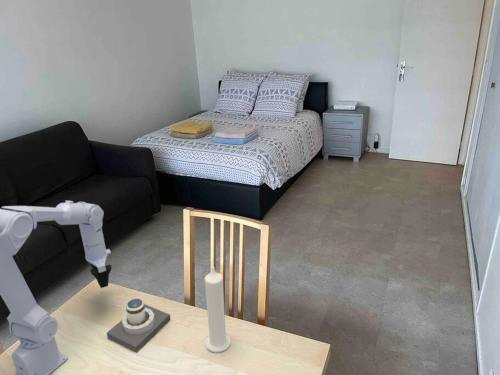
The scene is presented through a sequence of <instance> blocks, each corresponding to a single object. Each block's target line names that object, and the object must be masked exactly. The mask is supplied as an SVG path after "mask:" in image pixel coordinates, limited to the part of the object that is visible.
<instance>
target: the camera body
mask: <svg viewBox="0 0 500 375" xmlns="http://www.w3.org/2000/svg"><path fill="white" fill-rule="evenodd" d="M144 305H145V317H146V322H145V323H144V324H142V325H139V326H132V325H129V323H128V316H127V313H125V314H124V315H123V318H122V319H121V320H120V321H119V322H118V323H116V324H115V325H114V326H113V327H111V329H109V330H108V331H107V332H106V336H107V339H108V340H110V341H113V342H114V343H117V344H119V345H120V346H123V347H125V348H126V349H128V350H130V351H133V352H135V353H138V352H139V351H140V350H142V348H143V347H145V345H147V343H148V342H150V341H151V339H153V338H154V336H156V334H158V333H159V332H160V331H161V330H162V329H163V328H164V327H165V326H166V324H168V323H169V322H170V321H171V314H170V313H168V312H165V311H163V310H160V309H158V308H155V307H153V306H150V305H148V304H145V303H144Z"/></svg>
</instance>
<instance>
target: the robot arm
mask: <svg viewBox="0 0 500 375" xmlns="http://www.w3.org/2000/svg"><path fill="white" fill-rule="evenodd" d="M104 213H105V212H104V210H103V209H102V207H101V206H100V205H98V204H94V203H88V202H86V201H78V202H74V201H73V200H65V202H60V203H59V204H57V205H56V206H55V207H50V206H36V205H35V206H32V205H8V206H7V205H5V206H4V205H3V206H1V208H0V296H1V299H2V300H3V301H4V304H5V305H6V307H7V308H8V310H9V312H10V313H9V315H8V316H7V318H6V320H7V321H8V325H9V326H8V328H9V333H10V335H12V336H13V337H17V339H18V341H19V342H20V343H19V345H18V346H17V348H16V349H15V350H14V351H12V353H11V358H12V362H13V364H14V367H15V370H16V371H15V374H16V375H51V373H53V372H54V371H55V370H56V369H57V368H59V367H60V366H61V365H62V364H64V363H65V362H66V361H67V360H68V359H69V358H68V356H67V355H66V354H64V353H61V352H60V351H59V349H58V345H57V342H56V338H55V336H56V334H57V331H58V328H59V323H58V320H57V319H56V318H54V317H52V316H51V315H50V313H49V312H48V311H47V310H46V309H44V308H42V307H41V306H40V305H39V304H38V303H37V301H36V299H35V297H34V296H33V293H32V292H31V290H30V288H29V286H28V284H27V282H26V280H25V278H24V276H23V274H22V272H21V271H20V269H19V266H18V265H17V263H16V262H15V259H14V258H13V257H14V256H15V255H16V254H17V253H18V252H19V250H20V249H21V248H22V246H23V245H24V244H25V242H26V241H27V239H28V238H29V237H30V235H31V233H32V231H33V230H36V229H37V225H38V222H39V223H40V222H49V221H55V222H56V223H57V224H59V225H60V226H61V225H62V226H65V225H67V226H69V225H79V226H78V227H79V231H80V236H81V240H82V245H83V248H84V249H83V250H84V254H85V255H84V257H85V260H86V261H87V262H88V263H89V264H90V266H91V268H90V269H89V270H90V274H91V275H92V276H93V277H94V278H95V279H96V281H97V284H98V285H99V287H100V289H104V288H106V287H108V286H109V278H110V273H111V270H112V265H111V264H107V265H106V263H107V259H108V255H111V254H112V252H111V249H110V248H106V244H105V238H104V233H103V218H104V215H105V214H104Z"/></svg>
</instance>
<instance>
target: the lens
mask: <svg viewBox="0 0 500 375" xmlns="http://www.w3.org/2000/svg"><path fill="white" fill-rule="evenodd" d="M144 304H145V301H144V300H143V299H142V298H138V297H137V298H132V299H130V300H128V301H126V304H125V310H126V314H127V316H128V323H129V325H132V326H139V325H142V324H144V323H145V322H146V317H145V305H144Z"/></svg>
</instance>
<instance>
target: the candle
mask: <svg viewBox="0 0 500 375" xmlns="http://www.w3.org/2000/svg"><path fill="white" fill-rule="evenodd" d="M210 269H211V270H210V273H208V274H206V275H205V277H204V284H205V285H204V286H205V300H206V313H207V324H208V325H207V326H208V335H207V337H206V338H205V340H204V345H205V346H204V347H205V348H206V349H207V350H208V352H211V353H216V354H217V353H220V354H221V353H223V352H225V351H227V350H228V349H229V348H230V346H231V345H232V344H231V343H232V342H231V337H230V335H229V334H228V333H226V315H225V298H224V297H225V296H224V281H223V275H222V274H221V273H219V272H216V269H215V267H214V266H212V267H211V268H210Z"/></svg>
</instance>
